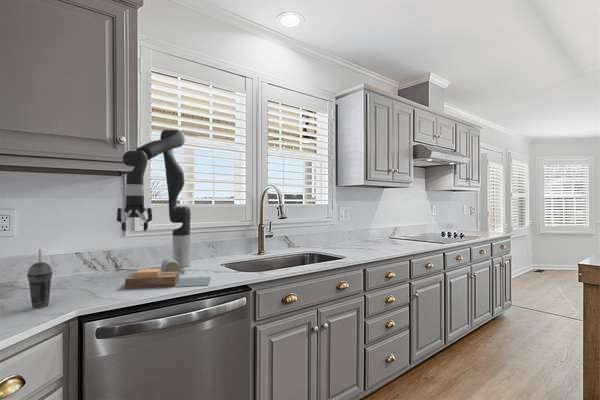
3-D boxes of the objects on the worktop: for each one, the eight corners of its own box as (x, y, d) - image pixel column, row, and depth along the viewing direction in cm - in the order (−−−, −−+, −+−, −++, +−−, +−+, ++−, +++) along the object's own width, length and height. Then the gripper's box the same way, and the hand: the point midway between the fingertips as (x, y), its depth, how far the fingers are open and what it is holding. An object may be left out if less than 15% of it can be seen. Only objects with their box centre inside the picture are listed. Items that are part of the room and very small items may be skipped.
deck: (133, 281, 158) (133, 273, 158) (179, 279, 162) (179, 271, 162) (125, 288, 146) (125, 279, 146) (175, 286, 150) (175, 276, 150)
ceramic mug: (165, 277, 167) (165, 261, 167) (161, 274, 174) (161, 258, 174) (187, 274, 174) (187, 259, 174) (182, 271, 180) (182, 257, 180)
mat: (180, 278, 164) (180, 278, 164) (210, 277, 167) (210, 276, 167) (174, 287, 148) (174, 286, 148) (208, 285, 151) (208, 284, 151)
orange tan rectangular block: (139, 274, 156) (139, 269, 156) (160, 273, 158) (160, 268, 158) (135, 277, 150) (135, 272, 150) (158, 276, 152) (158, 271, 152)
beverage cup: (26, 311, 118) (26, 252, 117) (27, 306, 123) (27, 249, 123) (53, 307, 122) (52, 250, 122) (52, 302, 128) (52, 247, 128)
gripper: (153, 195, 162) (153, 230, 162) (120, 195, 159) (120, 230, 159) (149, 194, 154) (149, 231, 154) (115, 194, 152) (114, 232, 151)
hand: (134, 231), depth 156 cm, fingers open, 8 cm apart
